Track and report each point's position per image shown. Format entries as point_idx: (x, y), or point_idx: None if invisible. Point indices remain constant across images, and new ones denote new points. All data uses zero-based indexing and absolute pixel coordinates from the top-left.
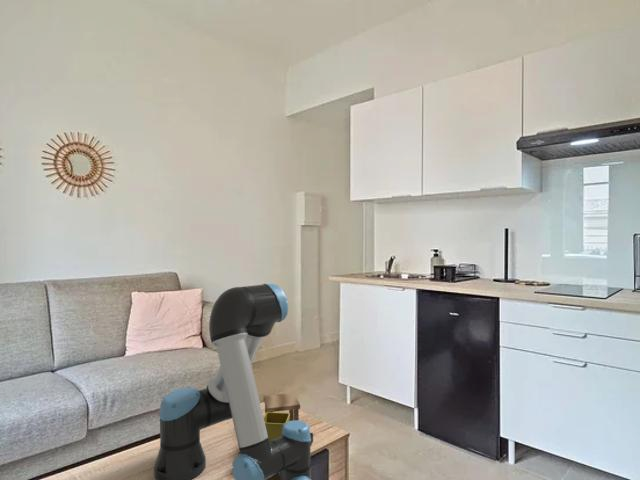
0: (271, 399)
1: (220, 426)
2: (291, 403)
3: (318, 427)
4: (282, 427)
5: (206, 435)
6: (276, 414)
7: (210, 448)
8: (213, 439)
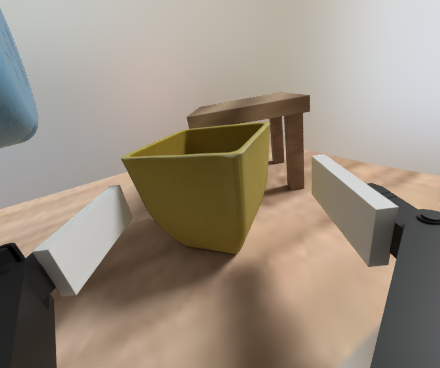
0: (215, 106)
1: (122, 182)
2: (274, 99)
3: (370, 175)
4: (223, 175)
5: (74, 202)
6: (216, 133)
7: (29, 243)
8: (73, 212)
